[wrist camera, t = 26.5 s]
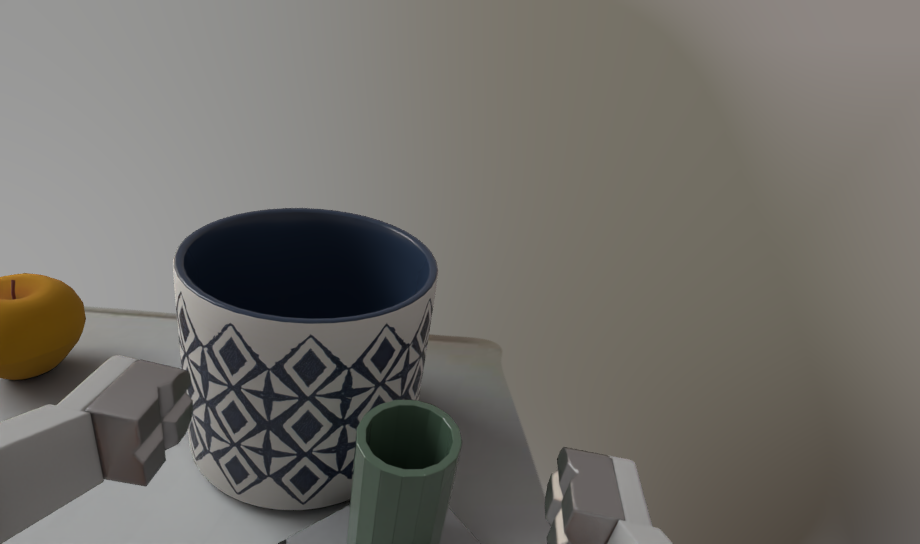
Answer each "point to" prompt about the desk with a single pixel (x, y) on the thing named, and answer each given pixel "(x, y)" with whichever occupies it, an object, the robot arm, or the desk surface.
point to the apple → (36, 324)
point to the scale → (330, 533)
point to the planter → (297, 345)
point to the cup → (402, 474)
